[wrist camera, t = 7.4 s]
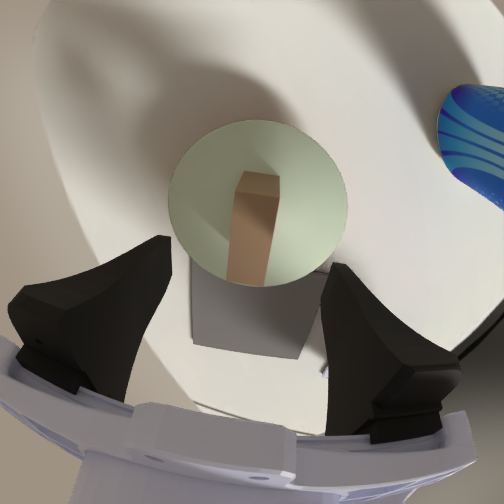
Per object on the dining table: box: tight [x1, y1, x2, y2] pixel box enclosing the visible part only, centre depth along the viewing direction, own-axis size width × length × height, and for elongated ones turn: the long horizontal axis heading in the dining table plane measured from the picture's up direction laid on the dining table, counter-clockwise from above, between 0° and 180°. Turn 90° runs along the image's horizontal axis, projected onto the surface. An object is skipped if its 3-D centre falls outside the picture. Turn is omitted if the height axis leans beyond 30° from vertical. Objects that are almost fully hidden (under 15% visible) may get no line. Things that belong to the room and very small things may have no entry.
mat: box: [192, 259, 329, 360], centre depth 27 cm, size 12×12×1 cm
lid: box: [168, 120, 348, 287], centre depth 15 cm, size 11×11×4 cm
